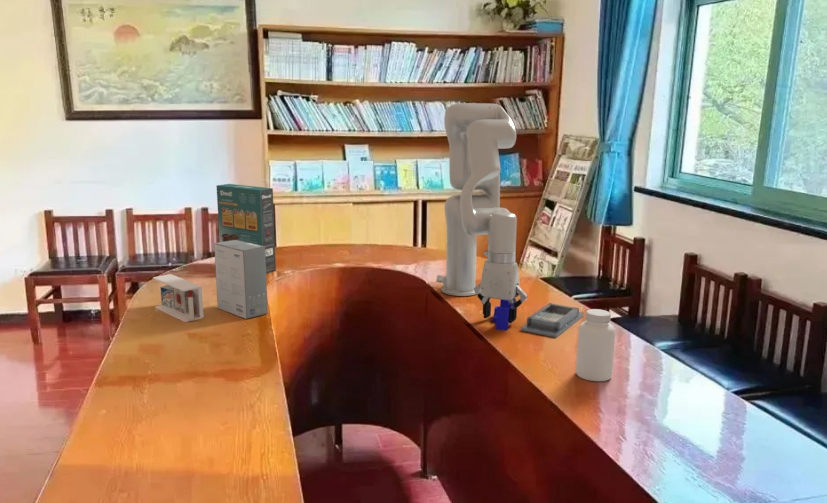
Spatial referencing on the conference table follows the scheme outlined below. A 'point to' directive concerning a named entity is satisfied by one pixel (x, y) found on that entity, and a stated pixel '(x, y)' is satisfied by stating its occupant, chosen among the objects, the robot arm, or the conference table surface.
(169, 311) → the cigarette display
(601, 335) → the pill bottle
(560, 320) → the grey rectangular tray
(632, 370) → the conference table surface
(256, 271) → the hard drive box
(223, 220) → the cake mix box
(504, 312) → the cable clip
